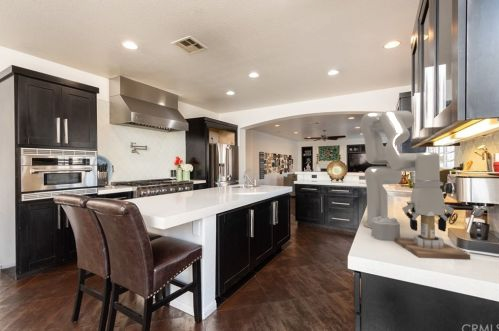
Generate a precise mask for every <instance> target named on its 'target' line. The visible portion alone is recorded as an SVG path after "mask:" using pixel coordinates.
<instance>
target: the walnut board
mask: <svg viewBox="0 0 499 331" xmlns="http://www.w3.org/2000/svg"><path fill="white" fill-rule="evenodd" d="M393 242H394V243H396V244H398V245H399V246H401V247H403V248H404V250H405V249H406V250H407V251H408V252H410V253H411V254H413V255H414V256H416V257H418V258H420V259H421V258H423V259H424V258H425V259H447V260H448V259H452V260H471V254H469V253H467V252H465V251H463V250H460V249H458V248H456V247H454V246H451V245H450V244H447V243H445V242H443V249H440V250H435V249H426V248H422V247H418V246H416V245H414V238H408V237H407V238H406V237H404V238H403V237H400V238H394V241H393Z"/></svg>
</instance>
